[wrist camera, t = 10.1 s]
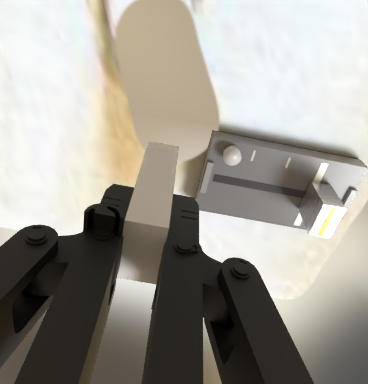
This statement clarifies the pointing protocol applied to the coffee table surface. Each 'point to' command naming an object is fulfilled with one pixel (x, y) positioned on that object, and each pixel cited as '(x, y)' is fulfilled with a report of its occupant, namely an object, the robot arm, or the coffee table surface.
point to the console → (269, 178)
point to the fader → (321, 209)
